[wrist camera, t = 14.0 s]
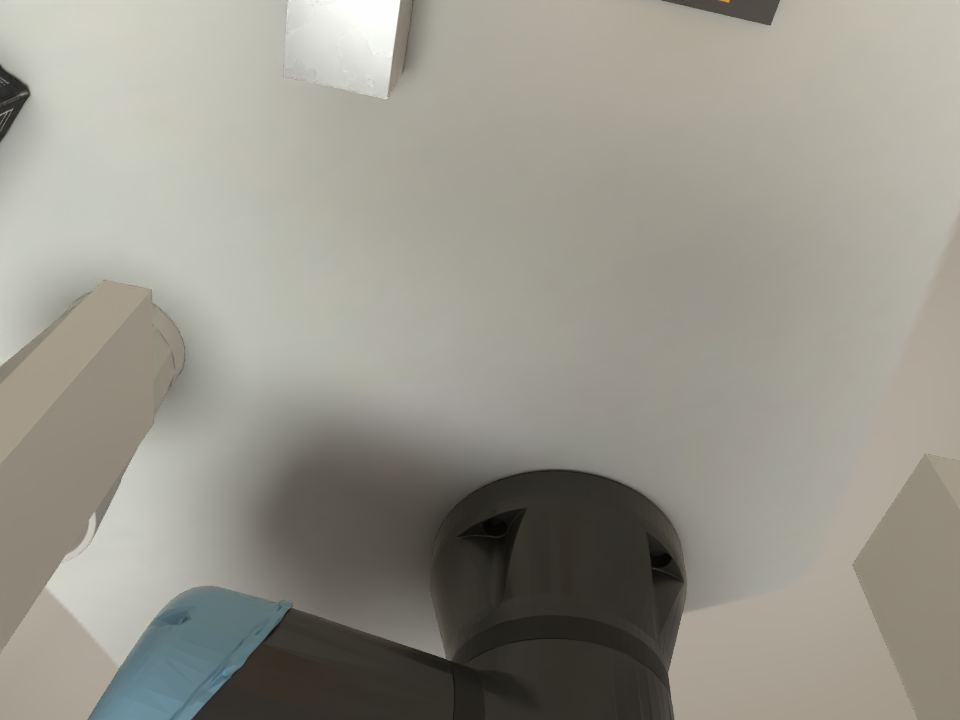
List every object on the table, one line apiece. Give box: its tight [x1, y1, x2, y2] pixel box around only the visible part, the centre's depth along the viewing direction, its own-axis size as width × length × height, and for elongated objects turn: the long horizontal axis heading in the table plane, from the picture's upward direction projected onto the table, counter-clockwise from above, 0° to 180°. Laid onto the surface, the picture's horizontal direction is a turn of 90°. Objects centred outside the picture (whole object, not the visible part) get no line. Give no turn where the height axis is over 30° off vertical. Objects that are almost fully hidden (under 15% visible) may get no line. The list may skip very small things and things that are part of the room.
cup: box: [0, 292, 185, 563], centre depth 38 cm, size 8×8×12 cm
